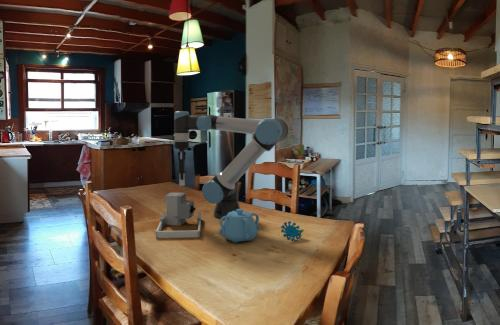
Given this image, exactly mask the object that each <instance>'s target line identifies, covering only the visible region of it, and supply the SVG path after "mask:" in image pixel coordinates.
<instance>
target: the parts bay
mask: <svg viewBox="0 0 500 325" xmlns="http://www.w3.org/2000/svg"><path fill="white" fill-rule="evenodd" d="M201 225H202V220H201V221H199V225H198V227H197V230H196V229H194V230H162V228H163V227H162V221H160V220H159V224H158V226H157V228H156V230H155V239H177V238H178V239H179V238H180V239H181V238H182V239H183V238H184V239H186V238H201Z"/></svg>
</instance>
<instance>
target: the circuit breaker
mask: <svg viewBox="0 0 500 325" xmlns="http://www.w3.org/2000/svg"><path fill="white" fill-rule="evenodd" d="M186 195H187V194H186V192H172V191H171V192H169V193H167V194H165V198H164V204H165V205H166V216H165V222H166V223H165V225H164V226H167V225H168V226H177V227H178V226H182V225H183V224H185V223H186V222H187V220H189V219H191V218H192V217H194V216H195V211H197V209H196V207H195V201H194V200H187V198H186V197H187V196H186ZM166 219H167V220H166Z"/></svg>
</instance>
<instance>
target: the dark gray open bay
mask: <svg viewBox="0 0 500 325" xmlns="http://www.w3.org/2000/svg"><path fill="white" fill-rule="evenodd" d="M166 215H167V212H163V213H162V215H161V216H160V220H159V222H160V221H162V228H165V226H166V225H165V224H166V222H165V216H166ZM196 219H197V220H196V221H197V222H196V226H197V228H198V225H199V221H201V222H202V212H201V211H198V212H197V218H196ZM166 221H167V219H166Z"/></svg>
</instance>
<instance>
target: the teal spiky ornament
mask: <svg viewBox="0 0 500 325" xmlns="http://www.w3.org/2000/svg"><path fill="white" fill-rule="evenodd" d="M280 228H282V229H281V230H280V232H281V233H282V234H283V235H282V236H283V238H286V240H287V241H290V240H291V241H292V240H295V241H297V240H298V239H299V240H300V238H302V237H303V236H302V234H303V232H304V231H305V230H304V229H301V228H300V225H297V224H296V222H293V223H292V221H290V220H289V221H288V222H287V221H285V222H283V224H282V225H281V227H280ZM286 236H289V237H286ZM296 239H297V240H296ZM299 240H298V241H299Z"/></svg>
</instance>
